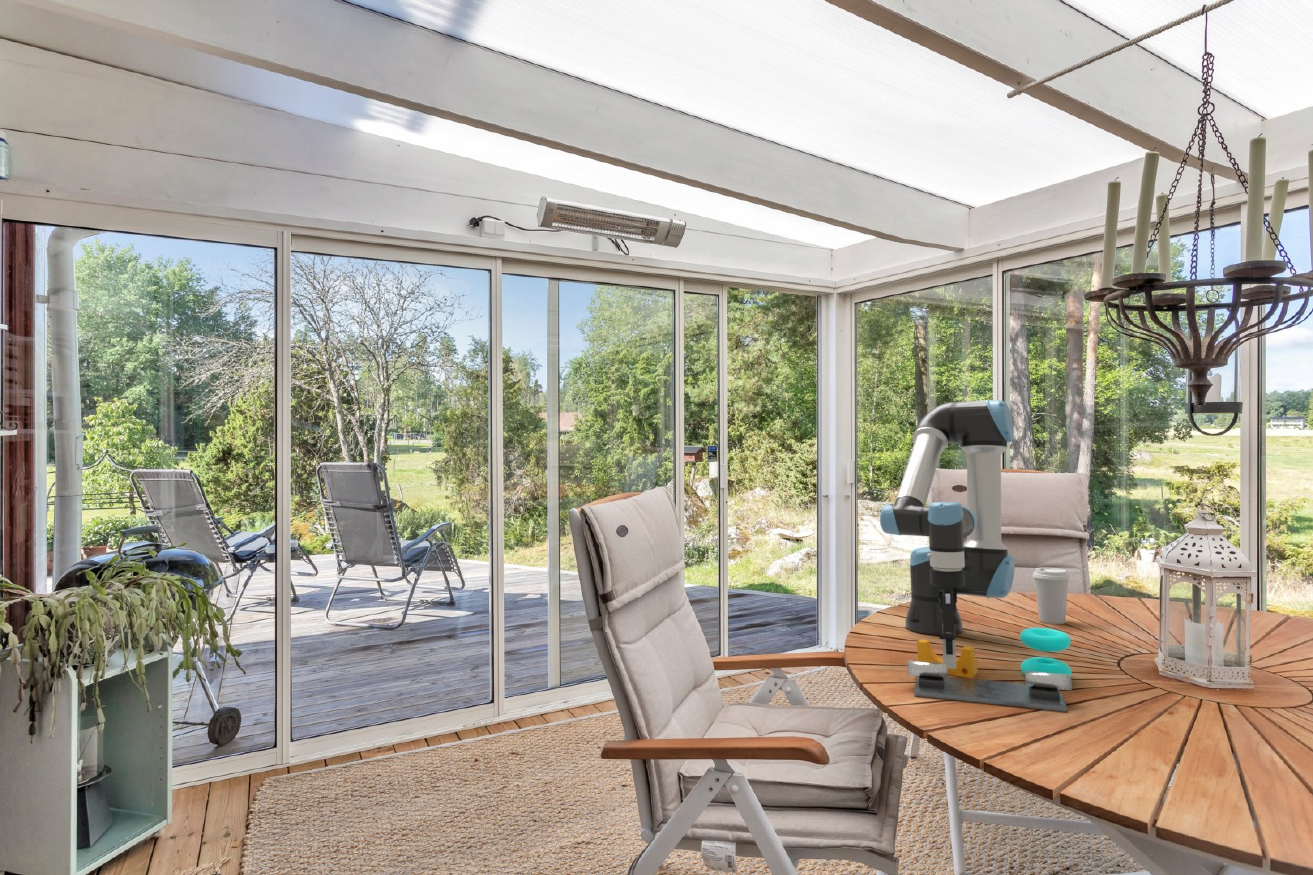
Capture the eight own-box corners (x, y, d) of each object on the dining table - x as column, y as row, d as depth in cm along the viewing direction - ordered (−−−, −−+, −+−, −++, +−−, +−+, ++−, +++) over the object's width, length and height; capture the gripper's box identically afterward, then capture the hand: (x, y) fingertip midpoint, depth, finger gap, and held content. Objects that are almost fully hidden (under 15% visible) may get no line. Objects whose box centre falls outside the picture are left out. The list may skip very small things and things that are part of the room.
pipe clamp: (977, 673, 161) (976, 645, 161) (971, 678, 158) (970, 650, 158) (924, 664, 169) (923, 637, 169) (918, 668, 166) (917, 641, 166)
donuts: (1066, 628, 161) (1074, 639, 151) (1067, 671, 161) (1075, 686, 151) (1017, 624, 164) (1022, 636, 155) (1018, 667, 164) (1023, 681, 155)
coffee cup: (1036, 615, 211) (1034, 566, 212) (1073, 619, 206) (1071, 568, 206) (1031, 622, 204) (1029, 571, 204) (1069, 627, 198) (1067, 573, 198)
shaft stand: (909, 677, 159) (908, 652, 159) (1066, 692, 148) (1065, 666, 148) (907, 694, 148) (906, 668, 148) (1076, 712, 136) (1075, 684, 137)
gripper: (930, 559, 178) (933, 643, 177) (928, 577, 155) (931, 673, 154) (963, 560, 175) (965, 645, 175) (966, 578, 152) (968, 677, 151)
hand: (949, 659), depth 164 cm, fingers open, 13 cm apart
